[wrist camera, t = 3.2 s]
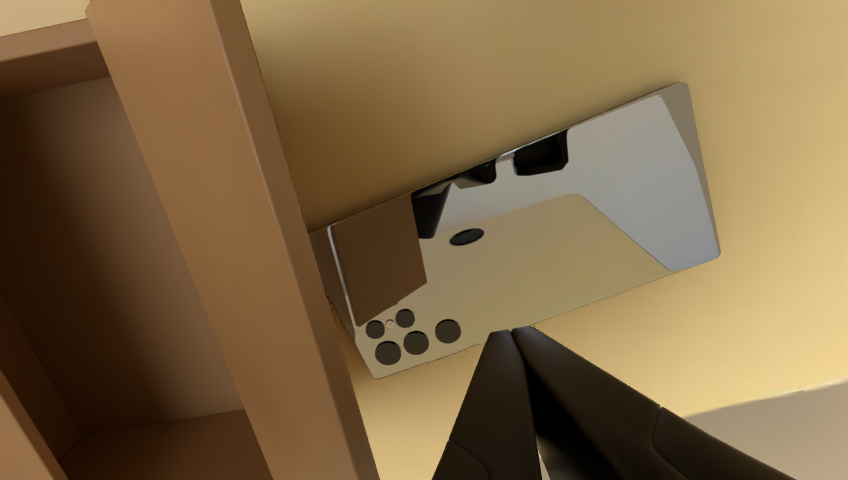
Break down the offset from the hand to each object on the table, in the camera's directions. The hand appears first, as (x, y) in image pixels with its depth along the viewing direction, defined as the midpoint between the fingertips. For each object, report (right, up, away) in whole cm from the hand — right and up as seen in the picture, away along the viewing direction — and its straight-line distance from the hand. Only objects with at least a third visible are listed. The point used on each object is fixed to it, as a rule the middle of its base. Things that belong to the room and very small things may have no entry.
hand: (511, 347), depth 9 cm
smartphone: (+2, +2, +10) cm, 10 cm away
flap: (-5, -1, +1) cm, 5 cm away
